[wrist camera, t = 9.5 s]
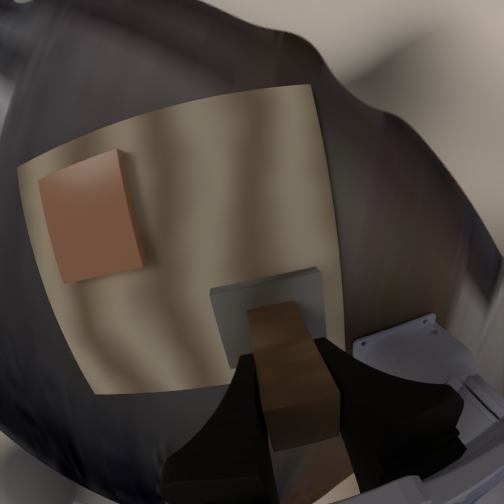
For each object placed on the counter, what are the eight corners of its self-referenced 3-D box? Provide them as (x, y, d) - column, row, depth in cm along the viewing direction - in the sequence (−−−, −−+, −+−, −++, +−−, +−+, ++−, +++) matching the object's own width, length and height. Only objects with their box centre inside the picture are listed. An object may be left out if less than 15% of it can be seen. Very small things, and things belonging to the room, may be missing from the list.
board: (306, 88, 18) (310, 84, 17) (341, 351, 24) (345, 356, 23) (23, 167, 17) (16, 167, 16) (98, 388, 23) (95, 394, 22)
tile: (149, 261, 19) (124, 150, 17) (143, 267, 18) (116, 148, 16) (72, 277, 19) (48, 179, 17) (63, 284, 18) (37, 180, 15)
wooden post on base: (315, 266, 16) (391, 346, 8) (323, 339, 17) (378, 437, 9) (210, 288, 16) (196, 393, 7) (230, 360, 17) (234, 473, 9)
